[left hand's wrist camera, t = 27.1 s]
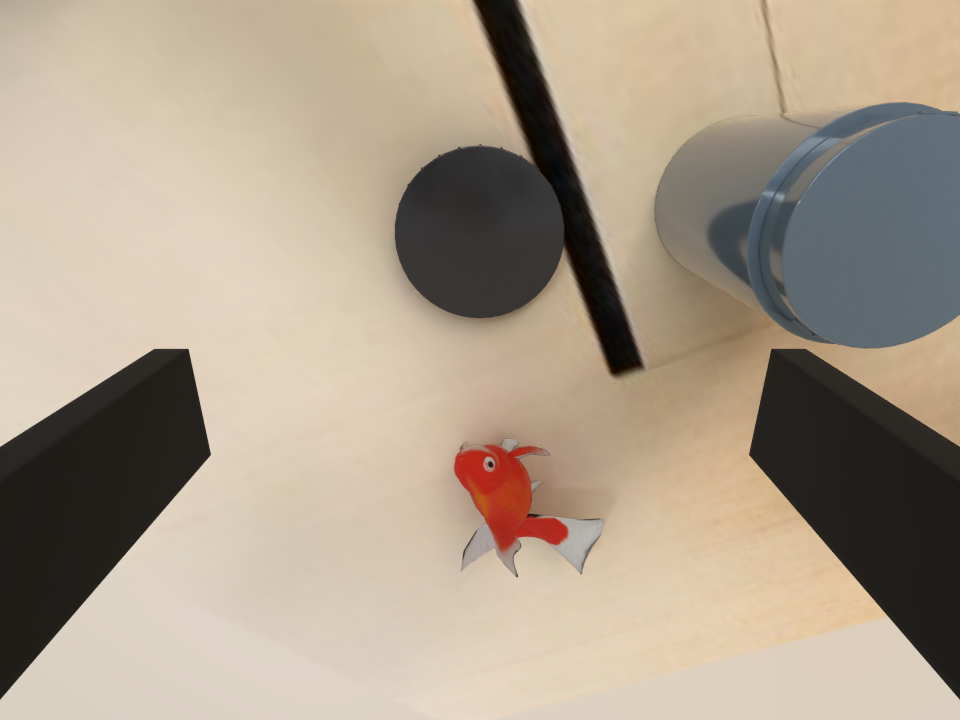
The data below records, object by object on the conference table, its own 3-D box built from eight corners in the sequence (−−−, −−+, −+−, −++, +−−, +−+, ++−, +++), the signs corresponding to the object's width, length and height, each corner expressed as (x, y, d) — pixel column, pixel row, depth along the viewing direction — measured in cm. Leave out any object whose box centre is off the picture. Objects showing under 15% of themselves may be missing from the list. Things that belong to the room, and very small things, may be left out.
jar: (789, 280, 38) (978, 364, 24) (643, 274, 38) (744, 355, 24) (830, 120, 34) (1084, 104, 20) (668, 113, 34) (806, 92, 20)
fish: (591, 395, 36) (576, 541, 30) (617, 501, 47) (610, 623, 41) (443, 396, 40) (405, 526, 34) (500, 494, 51) (478, 605, 45)
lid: (405, 133, 35) (400, 133, 33) (575, 157, 35) (580, 158, 33) (393, 299, 39) (387, 308, 37) (545, 318, 39) (549, 328, 37)
